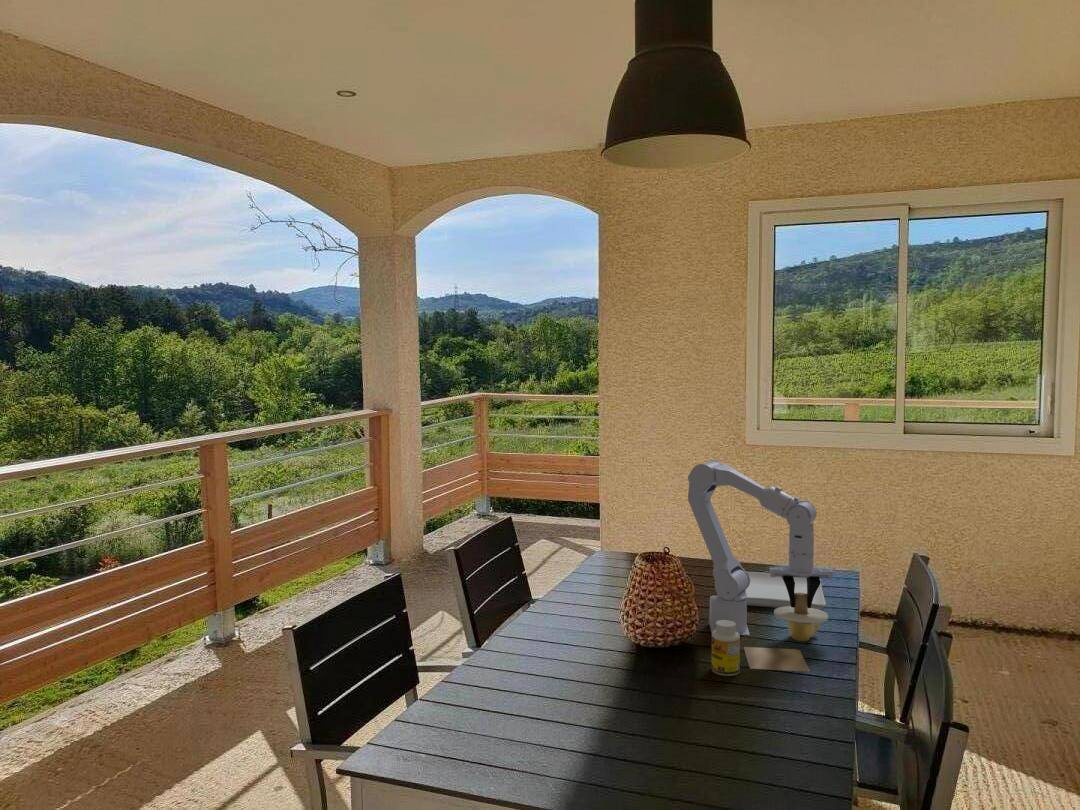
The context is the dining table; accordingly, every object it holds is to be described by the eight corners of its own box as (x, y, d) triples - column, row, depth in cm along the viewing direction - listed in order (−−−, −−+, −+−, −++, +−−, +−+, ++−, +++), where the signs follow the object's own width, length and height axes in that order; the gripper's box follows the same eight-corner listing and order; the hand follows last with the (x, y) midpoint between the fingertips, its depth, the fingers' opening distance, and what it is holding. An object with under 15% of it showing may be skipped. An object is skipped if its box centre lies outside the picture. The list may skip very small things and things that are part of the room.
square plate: (724, 608, 217) (724, 594, 217) (729, 581, 243) (729, 569, 243) (826, 616, 209) (826, 602, 209) (820, 588, 235) (820, 575, 235)
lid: (775, 621, 182) (775, 598, 182) (772, 608, 195) (772, 587, 195) (831, 624, 180) (831, 601, 180) (824, 611, 192) (824, 589, 192)
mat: (749, 671, 172) (749, 668, 172) (743, 649, 185) (743, 646, 185) (810, 674, 170) (810, 671, 170) (799, 652, 183) (799, 649, 183)
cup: (793, 652, 184) (793, 630, 183) (766, 635, 195) (766, 614, 195) (837, 647, 187) (837, 625, 186) (807, 630, 198) (807, 610, 198)
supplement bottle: (706, 669, 174) (706, 620, 173) (730, 665, 175) (730, 617, 175) (720, 679, 168) (720, 629, 167) (745, 676, 170) (745, 626, 169)
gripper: (772, 554, 184) (772, 610, 185) (836, 556, 182) (835, 613, 182) (768, 547, 191) (768, 601, 192) (829, 549, 188) (829, 603, 189)
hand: (800, 606), depth 187 cm, fingers closed on lid, 3 cm apart
